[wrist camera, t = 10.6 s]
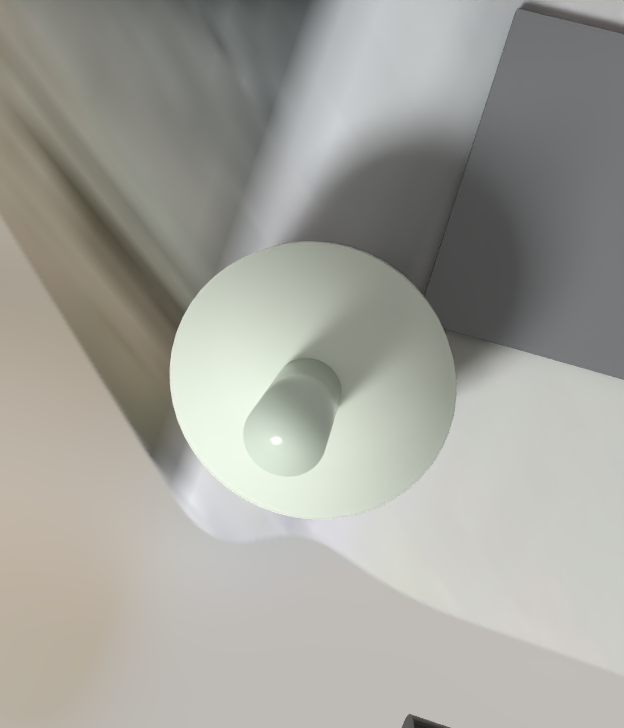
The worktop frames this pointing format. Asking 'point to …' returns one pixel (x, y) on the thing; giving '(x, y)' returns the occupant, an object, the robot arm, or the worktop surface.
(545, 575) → the worktop surface
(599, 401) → the worktop surface
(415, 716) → the robot arm
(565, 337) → the mat
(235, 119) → the worktop surface
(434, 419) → the lid
